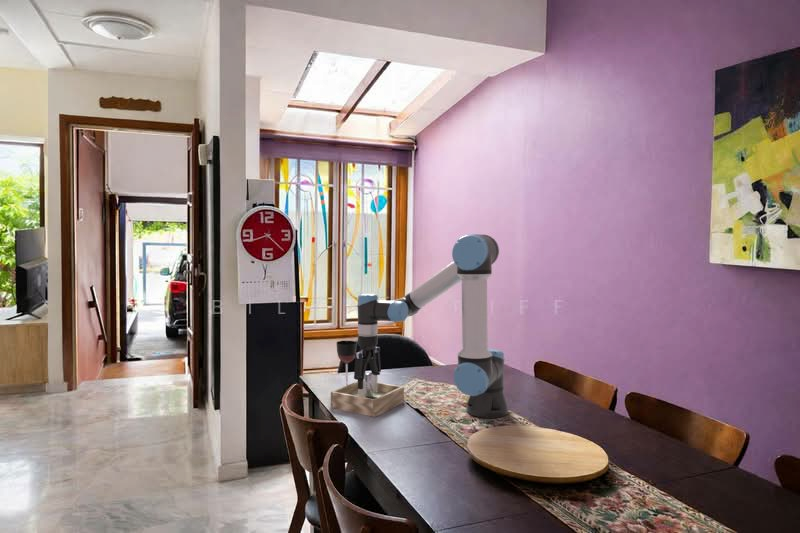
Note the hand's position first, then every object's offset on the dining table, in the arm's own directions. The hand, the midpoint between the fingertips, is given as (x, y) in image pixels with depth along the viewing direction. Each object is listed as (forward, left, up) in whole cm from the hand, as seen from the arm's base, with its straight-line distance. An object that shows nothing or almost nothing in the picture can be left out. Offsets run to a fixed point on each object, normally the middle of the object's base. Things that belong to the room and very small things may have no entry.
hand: (367, 394), depth 201 cm
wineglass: (+19, -12, -4) cm, 23 cm away
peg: (0, 0, -4) cm, 4 cm away
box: (0, 0, -4) cm, 4 cm away
